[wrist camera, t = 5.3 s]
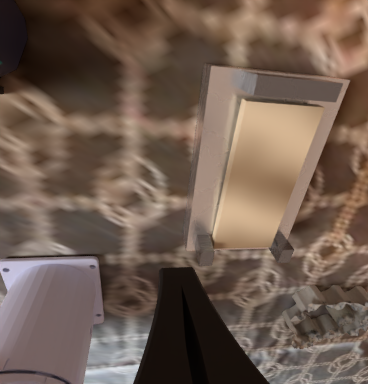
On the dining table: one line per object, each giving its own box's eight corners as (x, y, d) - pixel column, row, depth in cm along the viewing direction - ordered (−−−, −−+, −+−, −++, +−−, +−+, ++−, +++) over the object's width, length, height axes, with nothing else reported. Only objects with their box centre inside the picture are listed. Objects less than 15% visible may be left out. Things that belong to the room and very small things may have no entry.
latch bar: (266, 240, 22) (270, 247, 21) (211, 242, 21) (213, 248, 20) (317, 104, 16) (324, 107, 15) (242, 98, 15) (246, 101, 14)
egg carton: (273, 317, 33) (289, 350, 29) (301, 278, 29) (322, 310, 26) (339, 320, 35) (360, 350, 32) (372, 284, 32) (400, 314, 28)
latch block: (274, 233, 24) (295, 264, 21) (182, 235, 23) (189, 268, 19) (329, 76, 17) (375, 84, 14) (203, 63, 16) (220, 68, 12)
